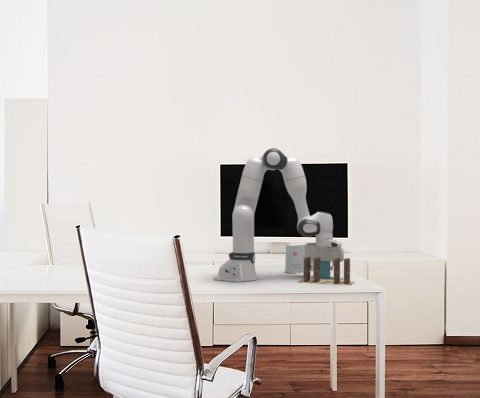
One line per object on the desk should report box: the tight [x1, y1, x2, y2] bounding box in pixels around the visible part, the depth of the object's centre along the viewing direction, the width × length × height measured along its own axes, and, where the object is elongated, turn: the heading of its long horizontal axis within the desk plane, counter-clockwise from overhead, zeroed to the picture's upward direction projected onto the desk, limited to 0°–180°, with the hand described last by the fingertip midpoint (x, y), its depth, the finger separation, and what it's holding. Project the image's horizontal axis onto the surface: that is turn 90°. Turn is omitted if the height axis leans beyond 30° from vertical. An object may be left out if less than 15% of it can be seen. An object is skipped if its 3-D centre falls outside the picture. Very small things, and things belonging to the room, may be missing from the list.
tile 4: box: [313, 257, 321, 283], centre depth 317 cm, size 2×6×12 cm, turn 161°
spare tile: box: [320, 261, 331, 280], centre depth 329 cm, size 2×6×12 cm, turn 70°
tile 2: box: [333, 258, 341, 284], centre depth 314 cm, size 2×6×12 cm, turn 161°
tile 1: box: [343, 257, 351, 284], centre depth 312 cm, size 2×6×12 cm, turn 161°
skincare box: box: [284, 242, 314, 274], centre depth 360 cm, size 21×5×16 cm, turn 126°
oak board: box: [296, 278, 355, 286], centre depth 316 cm, size 27×12×1 cm, turn 71°
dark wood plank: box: [303, 257, 311, 282], centre depth 319 cm, size 2×6×12 cm, turn 161°
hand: (324, 269), depth 329 cm, fingers closed on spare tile, 6 cm apart
